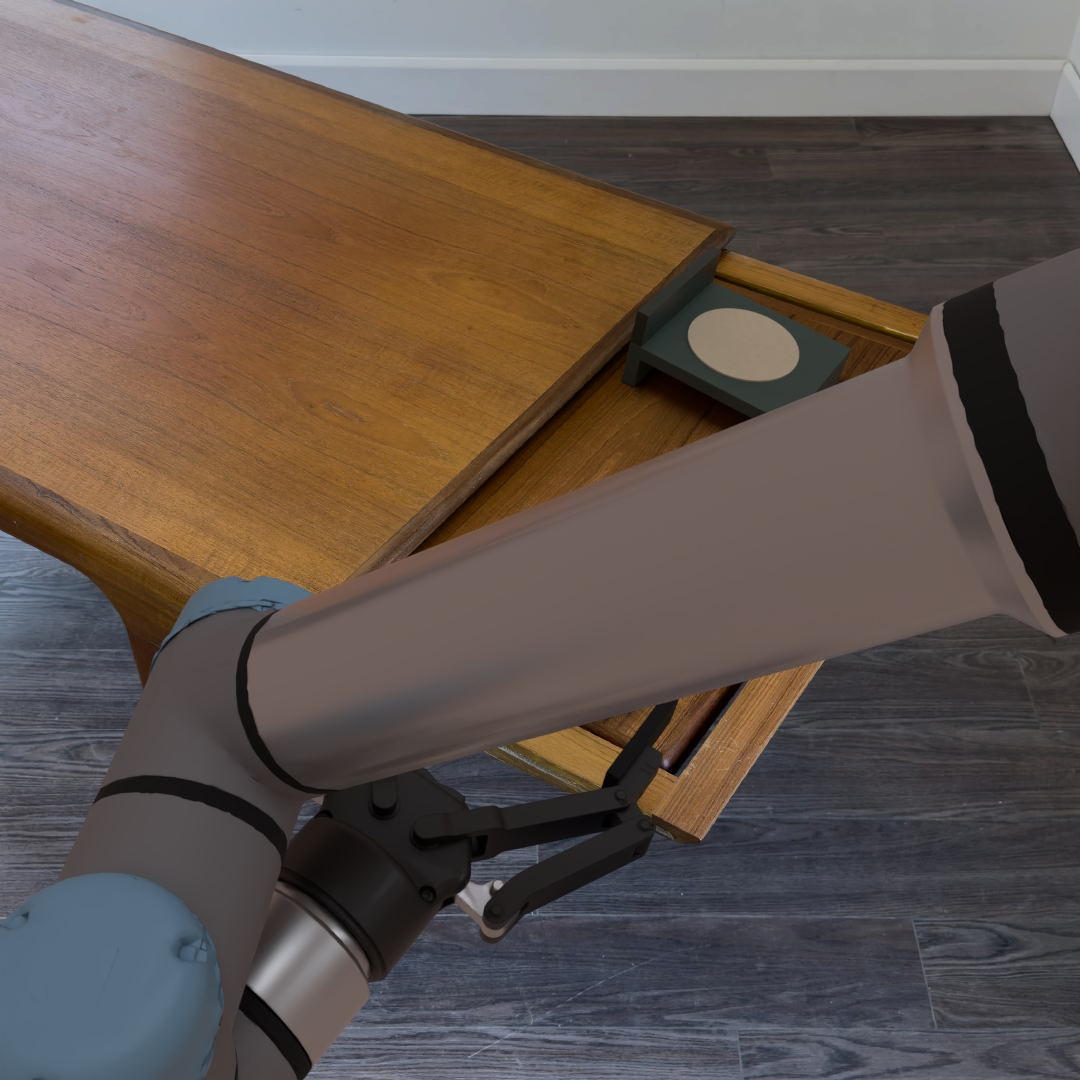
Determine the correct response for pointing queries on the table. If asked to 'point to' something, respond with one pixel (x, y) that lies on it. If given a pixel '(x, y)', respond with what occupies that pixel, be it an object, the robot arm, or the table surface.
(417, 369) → the table surface
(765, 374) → the coaster stand
